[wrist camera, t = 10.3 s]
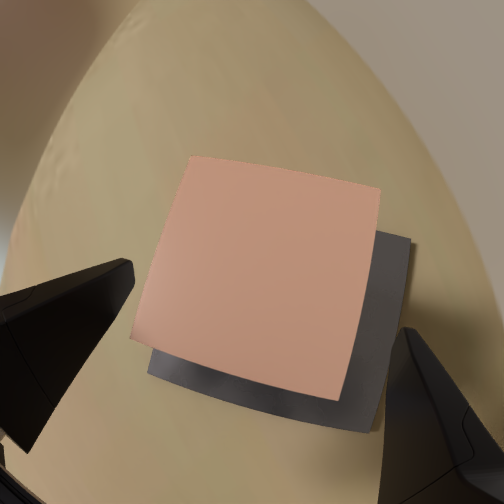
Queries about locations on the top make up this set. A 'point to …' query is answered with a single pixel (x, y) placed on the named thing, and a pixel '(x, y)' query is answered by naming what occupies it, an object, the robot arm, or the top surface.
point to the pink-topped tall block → (261, 274)
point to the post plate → (359, 369)
